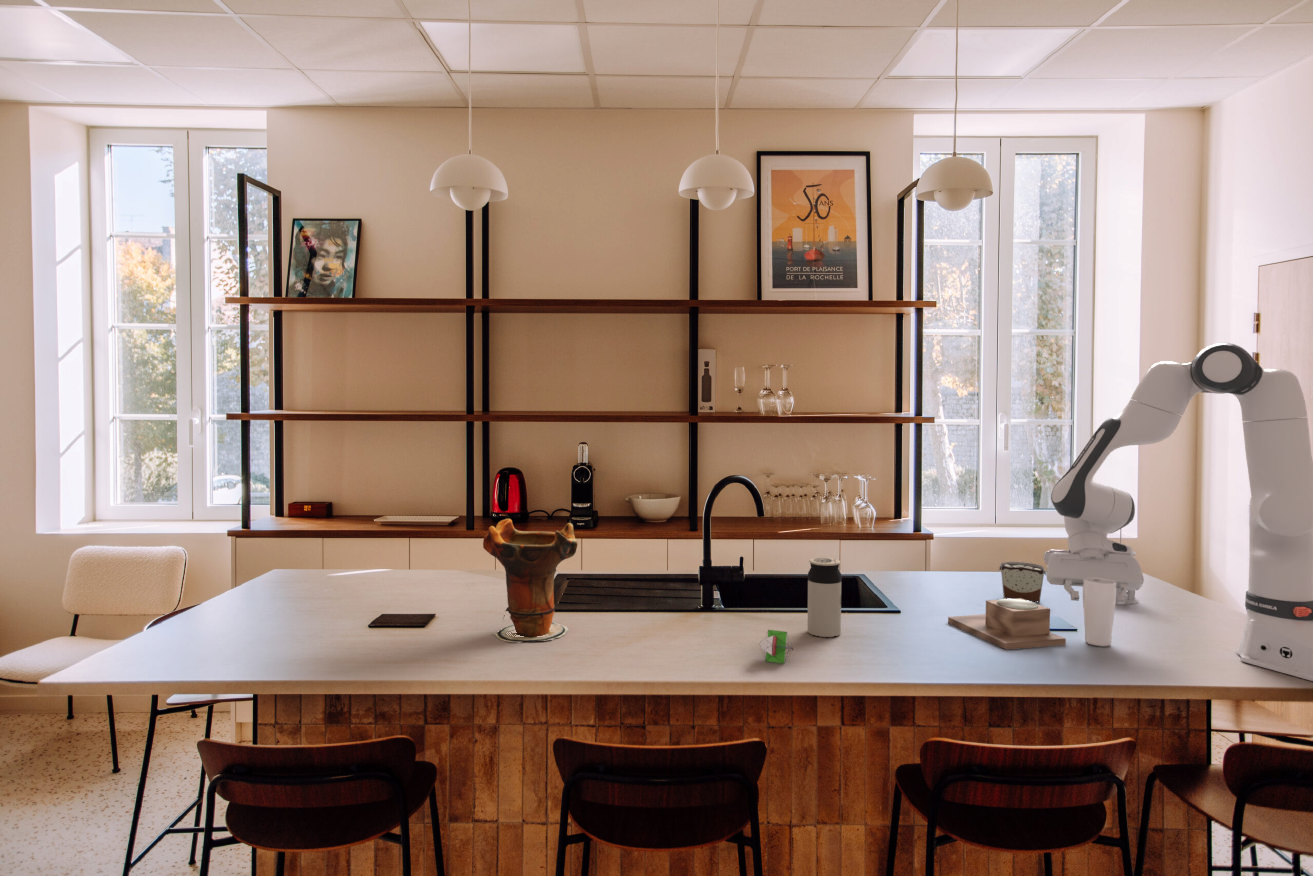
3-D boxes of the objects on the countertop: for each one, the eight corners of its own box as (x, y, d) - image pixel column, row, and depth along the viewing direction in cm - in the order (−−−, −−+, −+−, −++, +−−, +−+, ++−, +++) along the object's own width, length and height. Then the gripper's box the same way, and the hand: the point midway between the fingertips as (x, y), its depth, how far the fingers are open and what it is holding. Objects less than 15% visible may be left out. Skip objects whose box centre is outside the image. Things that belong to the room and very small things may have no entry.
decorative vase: (581, 642, 176) (574, 523, 174) (481, 650, 174) (474, 530, 173) (583, 618, 196) (577, 511, 195) (494, 624, 195) (488, 517, 194)
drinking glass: (1119, 649, 172) (1121, 584, 172) (1087, 647, 174) (1089, 583, 173) (1108, 640, 179) (1109, 577, 178) (1077, 638, 180) (1078, 576, 180)
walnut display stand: (1065, 644, 175) (1066, 611, 175) (1006, 649, 172) (1006, 616, 171) (1002, 618, 197) (1002, 589, 196) (948, 622, 193) (948, 592, 193)
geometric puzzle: (766, 642, 171) (761, 620, 166) (796, 645, 168) (792, 623, 163) (760, 669, 166) (754, 647, 161) (791, 673, 163) (786, 651, 158)
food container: (1047, 598, 217) (1048, 564, 217) (1045, 603, 212) (1046, 568, 212) (1001, 593, 224) (1002, 559, 223) (998, 597, 219) (998, 563, 218)
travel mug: (805, 636, 182) (805, 562, 181) (810, 627, 190) (810, 556, 189) (838, 639, 179) (839, 565, 179) (842, 630, 187) (843, 558, 186)
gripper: (1044, 542, 186) (1050, 590, 178) (1139, 547, 180) (1150, 597, 171) (1040, 556, 191) (1046, 604, 182) (1133, 562, 184) (1144, 611, 176)
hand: (1097, 601), depth 177 cm, fingers open, 8 cm apart
